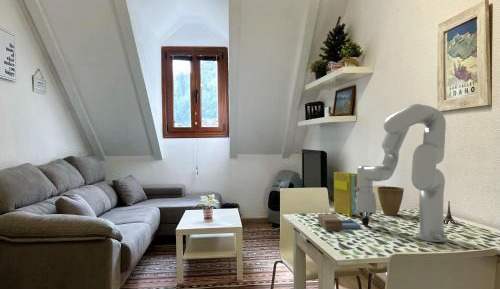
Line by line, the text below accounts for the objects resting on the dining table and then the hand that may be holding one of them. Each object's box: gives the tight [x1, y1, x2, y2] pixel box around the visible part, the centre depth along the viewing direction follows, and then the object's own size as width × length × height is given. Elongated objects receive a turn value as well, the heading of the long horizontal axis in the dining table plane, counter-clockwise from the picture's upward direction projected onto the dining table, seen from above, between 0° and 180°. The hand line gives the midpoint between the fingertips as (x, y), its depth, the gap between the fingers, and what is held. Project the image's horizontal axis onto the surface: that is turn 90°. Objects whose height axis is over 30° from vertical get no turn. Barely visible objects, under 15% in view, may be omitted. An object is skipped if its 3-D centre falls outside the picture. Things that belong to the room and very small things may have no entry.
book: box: [333, 171, 359, 217], centre depth 204 cm, size 17×7×25 cm, turn 22°
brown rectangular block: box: [317, 213, 343, 232], centre depth 173 cm, size 16×8×5 cm, turn 2°
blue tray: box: [340, 219, 361, 230], centre depth 173 cm, size 11×16×2 cm
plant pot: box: [376, 185, 405, 217], centre depth 202 cm, size 15×15×16 cm
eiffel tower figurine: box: [444, 200, 458, 226], centre depth 178 cm, size 15×10×13 cm
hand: (365, 225), depth 173 cm, fingers closed
